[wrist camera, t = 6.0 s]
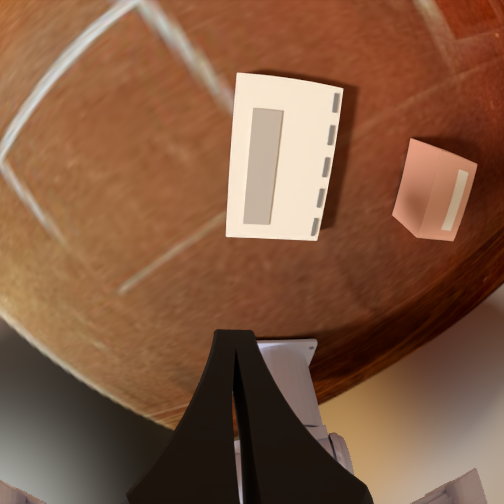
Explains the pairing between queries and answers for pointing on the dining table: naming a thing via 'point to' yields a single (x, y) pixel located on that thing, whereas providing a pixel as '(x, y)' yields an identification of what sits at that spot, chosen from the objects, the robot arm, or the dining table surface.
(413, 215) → the pink rectangular block
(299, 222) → the white slotted panel
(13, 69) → the dining table surface
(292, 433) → the robot arm
